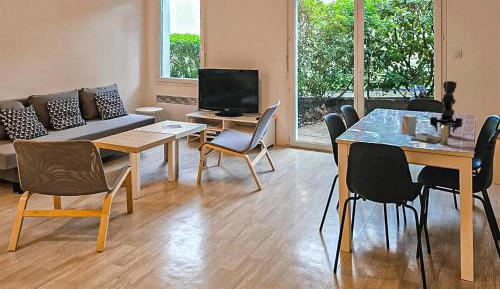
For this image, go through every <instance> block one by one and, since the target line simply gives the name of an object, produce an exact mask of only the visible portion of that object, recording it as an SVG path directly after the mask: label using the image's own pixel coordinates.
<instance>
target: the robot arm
mask: <svg viewBox="0 0 500 289" xmlns="http://www.w3.org/2000/svg"><path fill="white" fill-rule="evenodd" d="M457 85H458V84H457V82H455V81H453V80H447V81H445V82H443V85H442V86H443V87H442V88H443V92H444V95H443V97H441V104H442V111H441V117H440V118H439V119H438V117H437V116H431V117H430V119H429V125H431V126H432V127H434V129H435V132H436V133H438V129H439V128H438V123H439V127H440V128H441V127H442V125H449V134H448V137H451V136H452V134H454V133H455V132H456V130H457V129H459V128H461V127H462V126H463V125H462V124H463V118H459V117H458V118H457V117H456V118H455V119H454V118H453V116H454V115H455V109H453V106H454V105H455V104H456V99H455V97H454V94H455V91H456V89H457ZM451 128H452V134H451ZM438 135H439V136H441V133H440V134H438Z"/></svg>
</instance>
